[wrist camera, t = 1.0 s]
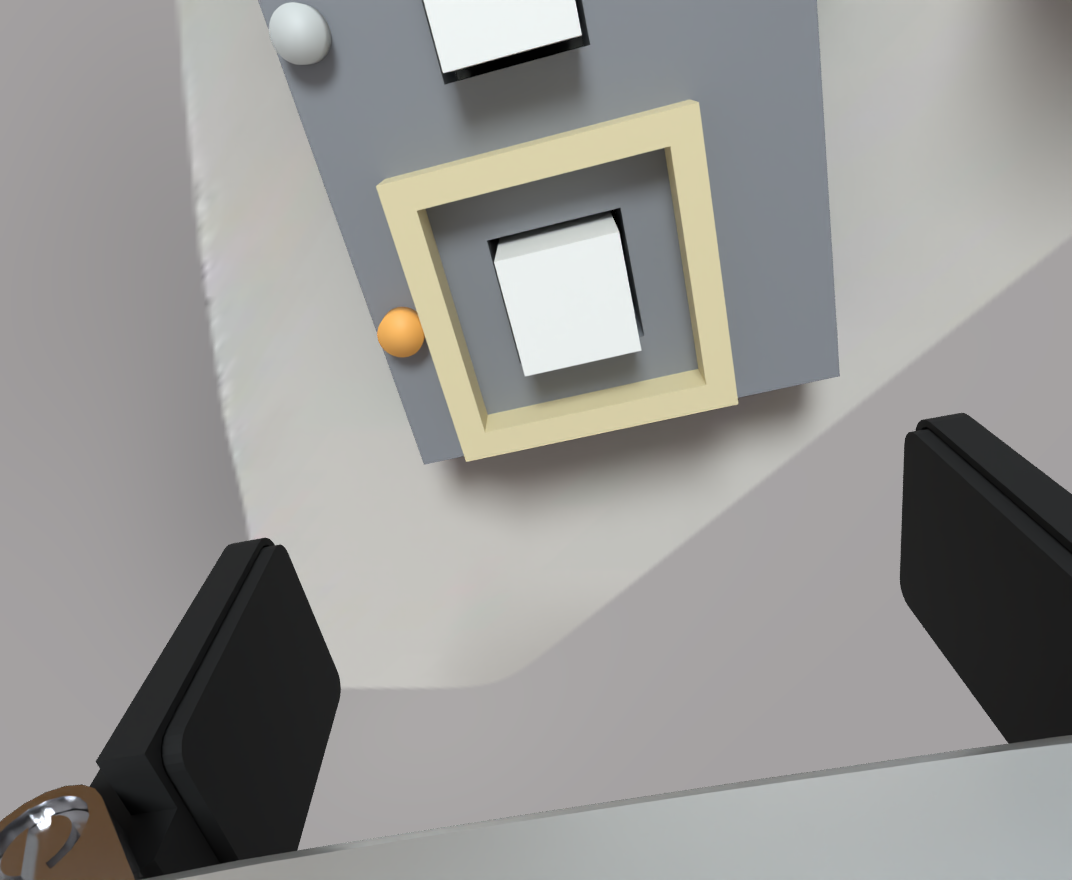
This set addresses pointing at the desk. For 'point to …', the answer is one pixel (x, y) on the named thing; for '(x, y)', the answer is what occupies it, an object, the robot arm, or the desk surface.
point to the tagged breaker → (567, 293)
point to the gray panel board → (577, 204)
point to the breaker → (497, 28)
